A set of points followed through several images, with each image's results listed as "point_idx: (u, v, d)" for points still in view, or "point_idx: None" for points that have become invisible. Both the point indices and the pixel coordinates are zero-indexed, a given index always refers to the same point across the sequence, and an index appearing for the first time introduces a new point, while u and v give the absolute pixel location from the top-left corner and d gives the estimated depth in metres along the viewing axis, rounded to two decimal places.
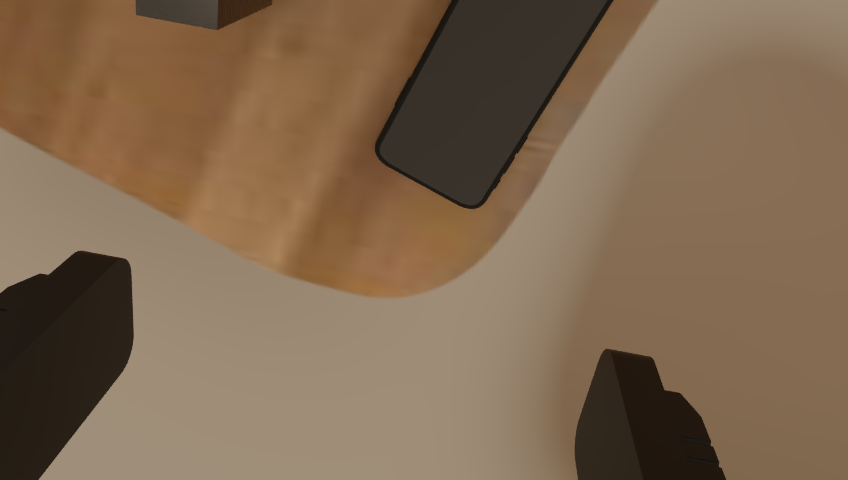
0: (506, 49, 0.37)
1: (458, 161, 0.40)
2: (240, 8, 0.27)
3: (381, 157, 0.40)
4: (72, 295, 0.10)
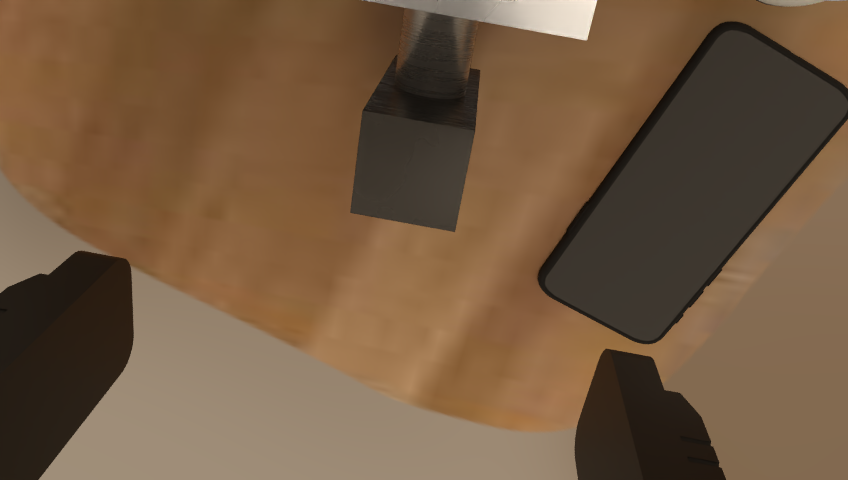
0: (710, 174, 0.31)
1: (637, 294, 0.34)
2: None
3: (546, 289, 0.34)
4: (72, 295, 0.10)
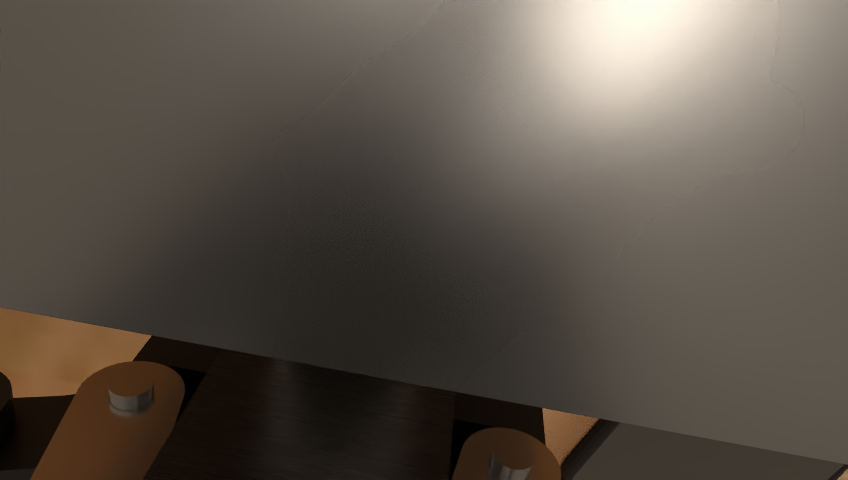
0: None
1: None
2: None
3: None
4: None
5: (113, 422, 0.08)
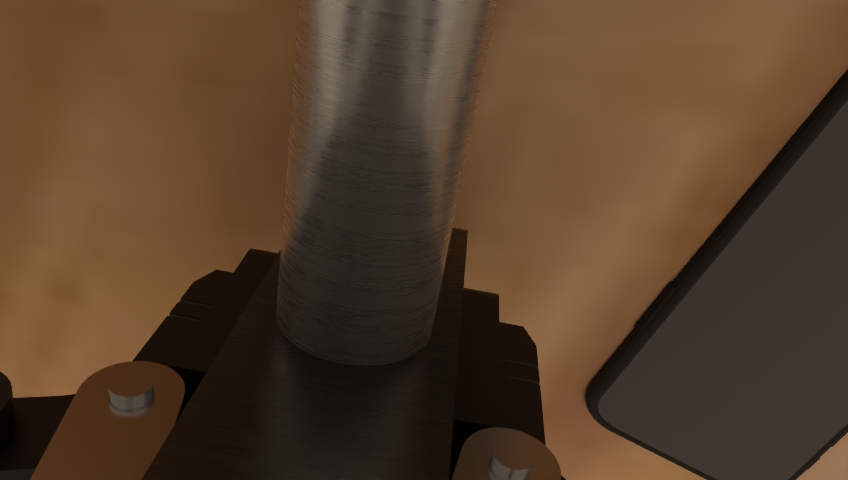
0: None
1: (748, 426, 0.21)
2: None
3: (599, 416, 0.21)
4: None
5: (113, 422, 0.08)
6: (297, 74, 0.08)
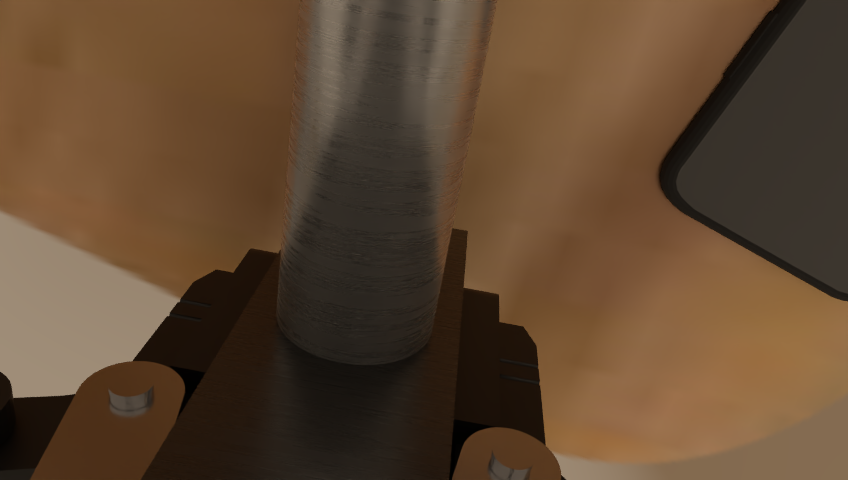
0: None
1: None
2: None
3: (677, 195, 0.18)
4: None
5: (113, 422, 0.08)
6: (297, 73, 0.08)
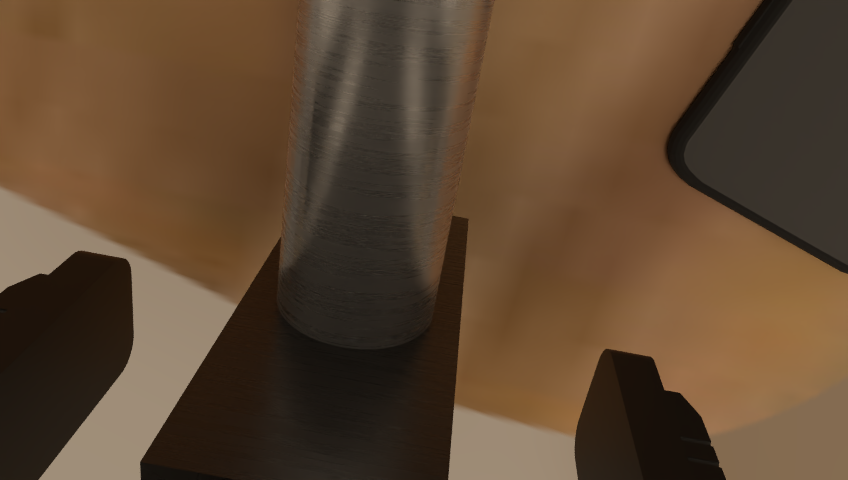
0: None
1: None
2: None
3: (685, 168, 0.18)
4: (72, 295, 0.10)
5: None
6: (298, 56, 0.08)
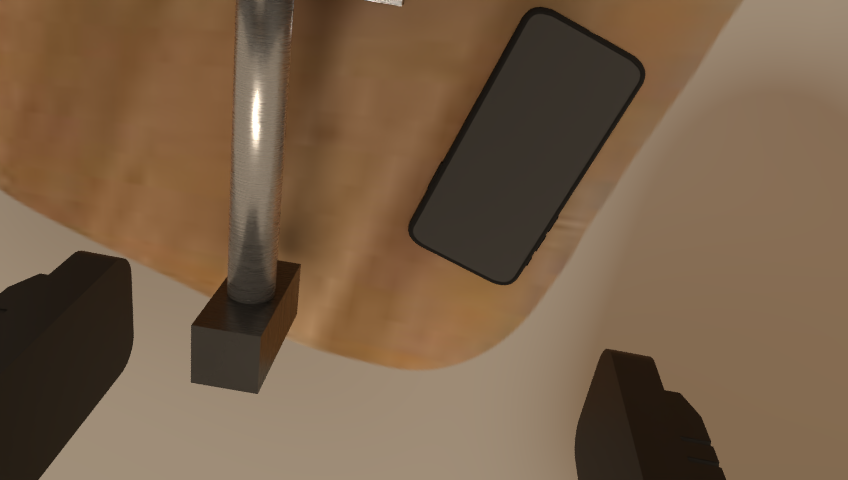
0: (537, 134, 0.38)
1: (490, 240, 0.41)
2: (274, 353, 0.33)
3: (414, 238, 0.41)
4: (72, 295, 0.10)
5: None
6: (229, 226, 0.31)
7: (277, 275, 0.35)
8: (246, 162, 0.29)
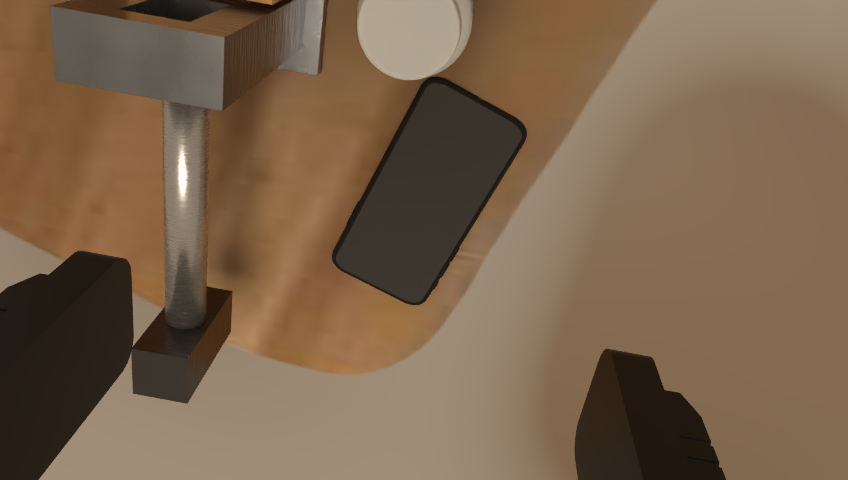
0: (437, 181, 0.44)
1: (401, 267, 0.47)
2: (204, 368, 0.40)
3: (337, 265, 0.48)
4: (72, 295, 0.10)
5: None
6: (164, 267, 0.38)
7: (210, 302, 0.41)
8: (174, 218, 0.36)
